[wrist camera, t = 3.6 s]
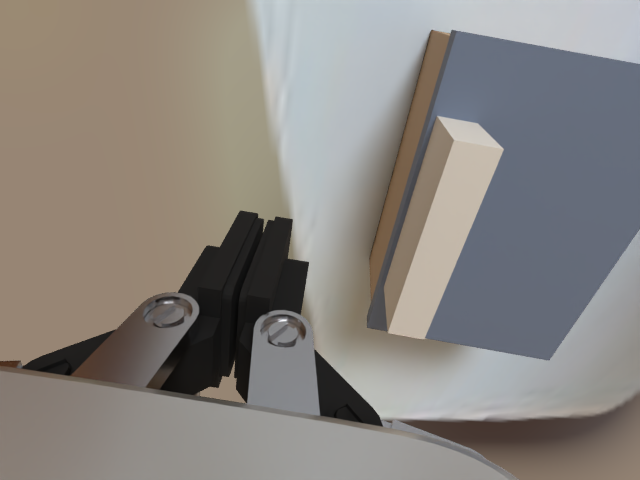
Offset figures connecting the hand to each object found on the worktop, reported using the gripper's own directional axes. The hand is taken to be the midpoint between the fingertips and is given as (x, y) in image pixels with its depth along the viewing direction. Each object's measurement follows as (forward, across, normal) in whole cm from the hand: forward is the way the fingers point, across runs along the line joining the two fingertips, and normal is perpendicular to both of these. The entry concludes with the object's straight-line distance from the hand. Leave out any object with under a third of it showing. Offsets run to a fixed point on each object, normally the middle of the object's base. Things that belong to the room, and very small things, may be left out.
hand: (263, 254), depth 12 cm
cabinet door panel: (+5, -10, 0) cm, 11 cm away
